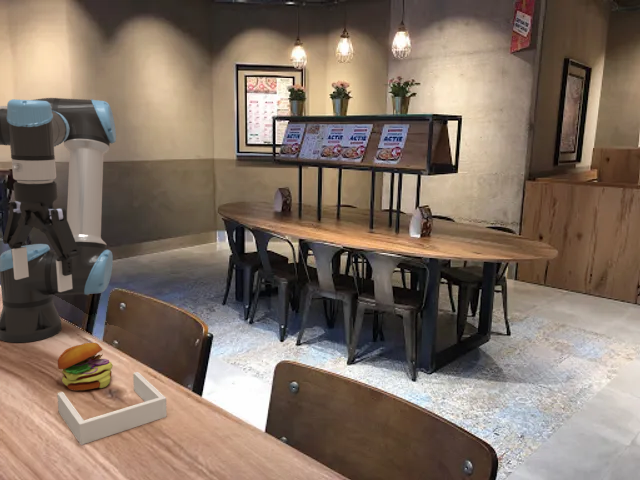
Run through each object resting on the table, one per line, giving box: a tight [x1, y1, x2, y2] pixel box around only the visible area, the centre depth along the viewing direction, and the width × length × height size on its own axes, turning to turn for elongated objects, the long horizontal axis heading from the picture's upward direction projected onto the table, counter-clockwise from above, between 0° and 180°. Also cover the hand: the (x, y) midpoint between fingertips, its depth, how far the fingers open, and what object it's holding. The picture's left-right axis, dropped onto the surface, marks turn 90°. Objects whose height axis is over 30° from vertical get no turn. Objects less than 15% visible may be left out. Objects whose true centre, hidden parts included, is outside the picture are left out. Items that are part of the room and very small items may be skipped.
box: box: [57, 371, 167, 446], centre depth 104 cm, size 14×16×4 cm
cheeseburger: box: [57, 342, 113, 391], centre depth 116 cm, size 10×11×10 cm
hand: (42, 284), depth 109 cm, fingers open, 13 cm apart
